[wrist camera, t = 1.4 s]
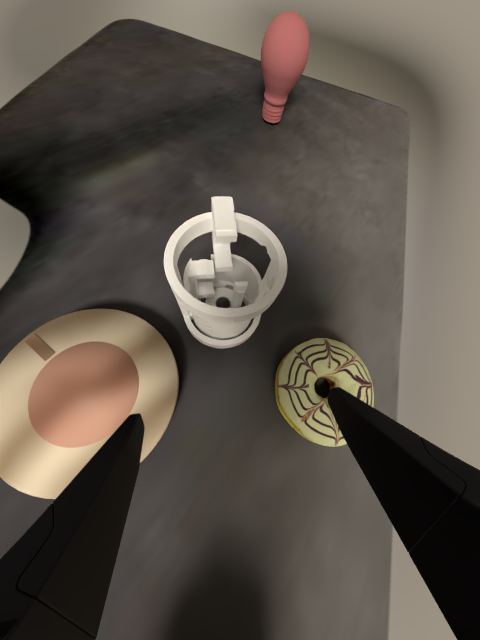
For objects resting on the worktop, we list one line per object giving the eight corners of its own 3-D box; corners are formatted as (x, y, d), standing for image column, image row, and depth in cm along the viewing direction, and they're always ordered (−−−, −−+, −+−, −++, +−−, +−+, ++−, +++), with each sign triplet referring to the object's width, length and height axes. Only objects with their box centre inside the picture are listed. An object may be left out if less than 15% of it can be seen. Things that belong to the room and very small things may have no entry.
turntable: (212, 377, 21) (211, 376, 20) (76, 542, 16) (67, 552, 15) (103, 284, 23) (97, 279, 22) (-50, 406, 18) (-66, 407, 17)
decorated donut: (375, 389, 25) (402, 388, 21) (322, 463, 22) (343, 477, 18) (311, 326, 27) (326, 316, 23) (252, 387, 23) (260, 386, 20)
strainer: (245, 299, 27) (280, 194, 12) (253, 354, 24) (308, 302, 10) (188, 303, 25) (157, 194, 11) (192, 361, 23) (159, 314, 9)
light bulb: (271, 139, 38) (296, 31, 26) (243, 117, 39) (256, 5, 27) (296, 125, 40) (328, 20, 28) (269, 105, 41) (290, -4, 30)
